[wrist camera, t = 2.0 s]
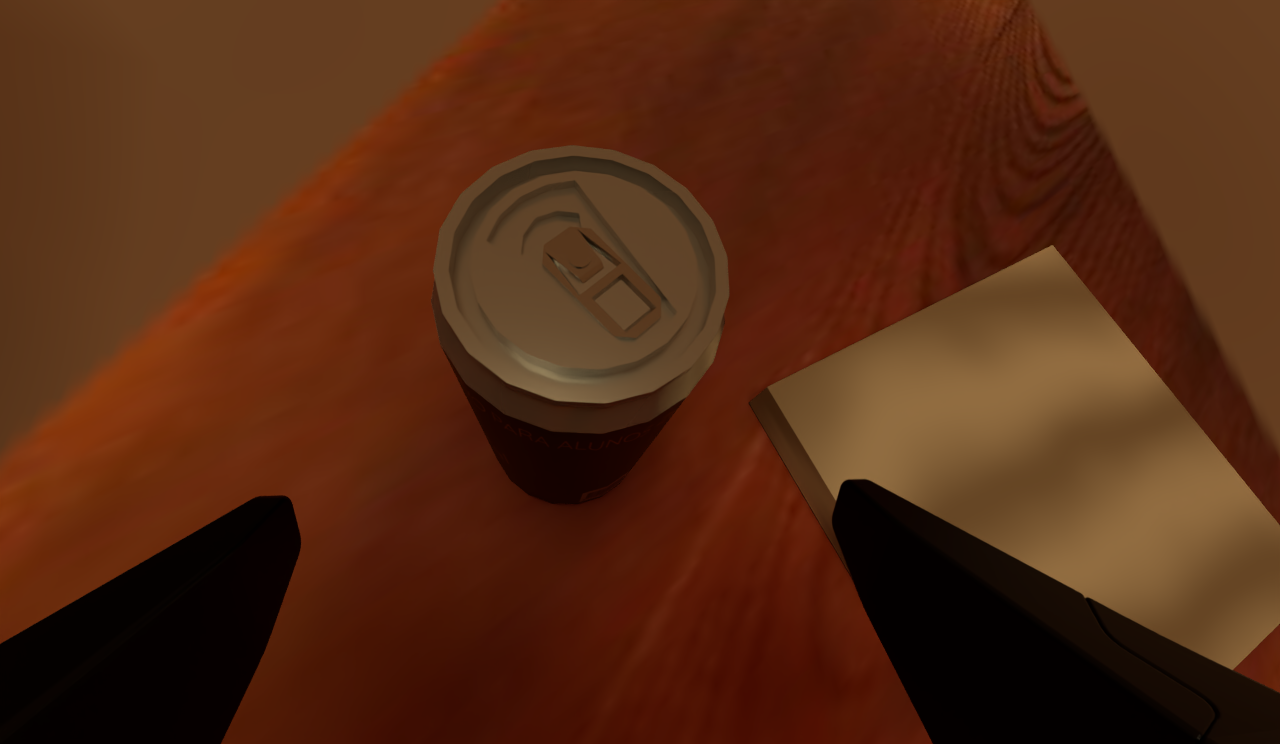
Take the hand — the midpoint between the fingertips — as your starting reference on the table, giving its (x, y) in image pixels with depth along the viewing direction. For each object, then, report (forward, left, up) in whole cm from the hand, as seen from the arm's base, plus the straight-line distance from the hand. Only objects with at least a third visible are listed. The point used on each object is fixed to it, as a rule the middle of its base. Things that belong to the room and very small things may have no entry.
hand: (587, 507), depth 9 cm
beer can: (+4, -2, -11) cm, 12 cm away
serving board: (-6, -17, -11) cm, 21 cm away
